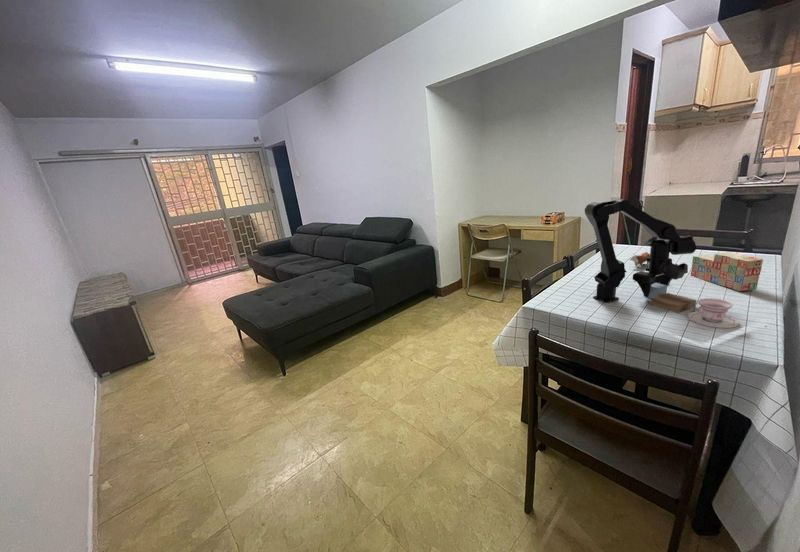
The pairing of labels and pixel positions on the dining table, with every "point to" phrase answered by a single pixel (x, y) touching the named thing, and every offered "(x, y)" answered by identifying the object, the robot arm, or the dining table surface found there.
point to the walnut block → (673, 302)
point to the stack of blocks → (728, 270)
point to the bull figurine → (640, 258)
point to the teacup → (714, 313)
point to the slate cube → (657, 290)
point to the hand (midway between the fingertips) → (654, 294)
